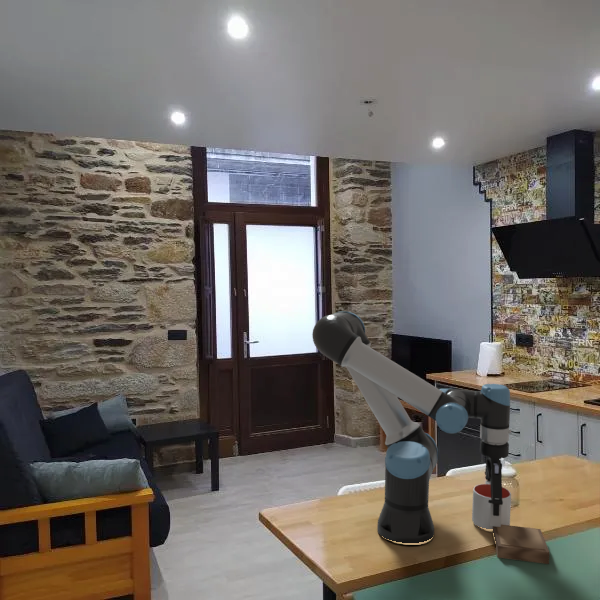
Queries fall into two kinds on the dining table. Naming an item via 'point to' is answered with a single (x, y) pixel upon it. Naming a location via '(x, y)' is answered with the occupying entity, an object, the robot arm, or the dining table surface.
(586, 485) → the dining table surface
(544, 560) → the base
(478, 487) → the cup
